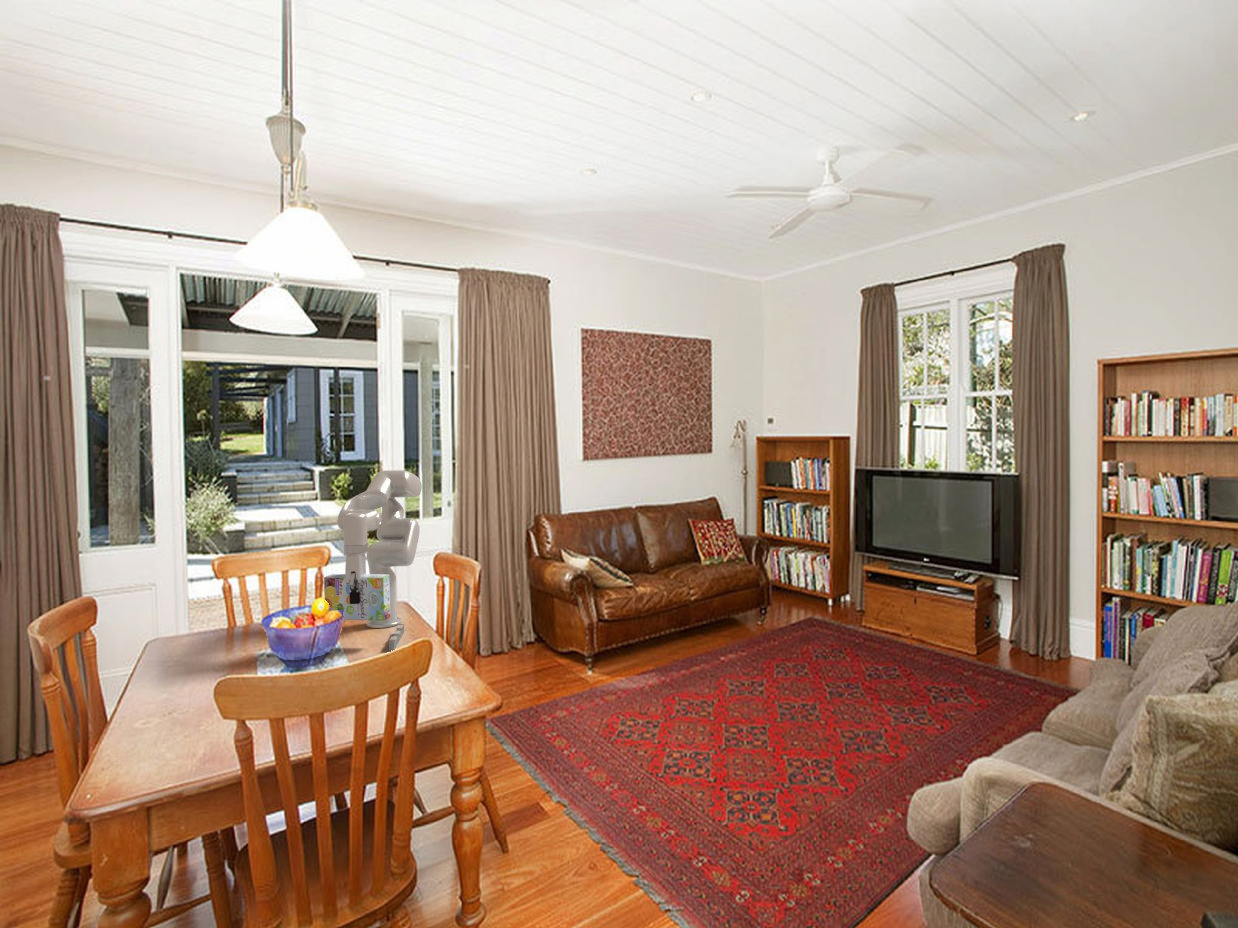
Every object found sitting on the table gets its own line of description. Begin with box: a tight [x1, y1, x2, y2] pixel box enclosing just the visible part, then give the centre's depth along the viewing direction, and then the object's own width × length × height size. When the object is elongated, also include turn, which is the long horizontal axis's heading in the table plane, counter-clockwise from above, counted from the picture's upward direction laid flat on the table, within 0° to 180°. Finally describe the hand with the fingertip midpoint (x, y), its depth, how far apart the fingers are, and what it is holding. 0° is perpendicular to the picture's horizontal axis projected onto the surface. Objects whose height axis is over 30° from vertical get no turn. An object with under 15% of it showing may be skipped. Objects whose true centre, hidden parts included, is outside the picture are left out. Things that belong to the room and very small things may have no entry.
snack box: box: [323, 573, 390, 622], centre depth 217 cm, size 21×6×15 cm, turn 85°
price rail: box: [388, 623, 405, 652], centre depth 221 cm, size 22×2×3 cm, turn 10°
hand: (357, 600), depth 217 cm, fingers closed on snack box, 6 cm apart
